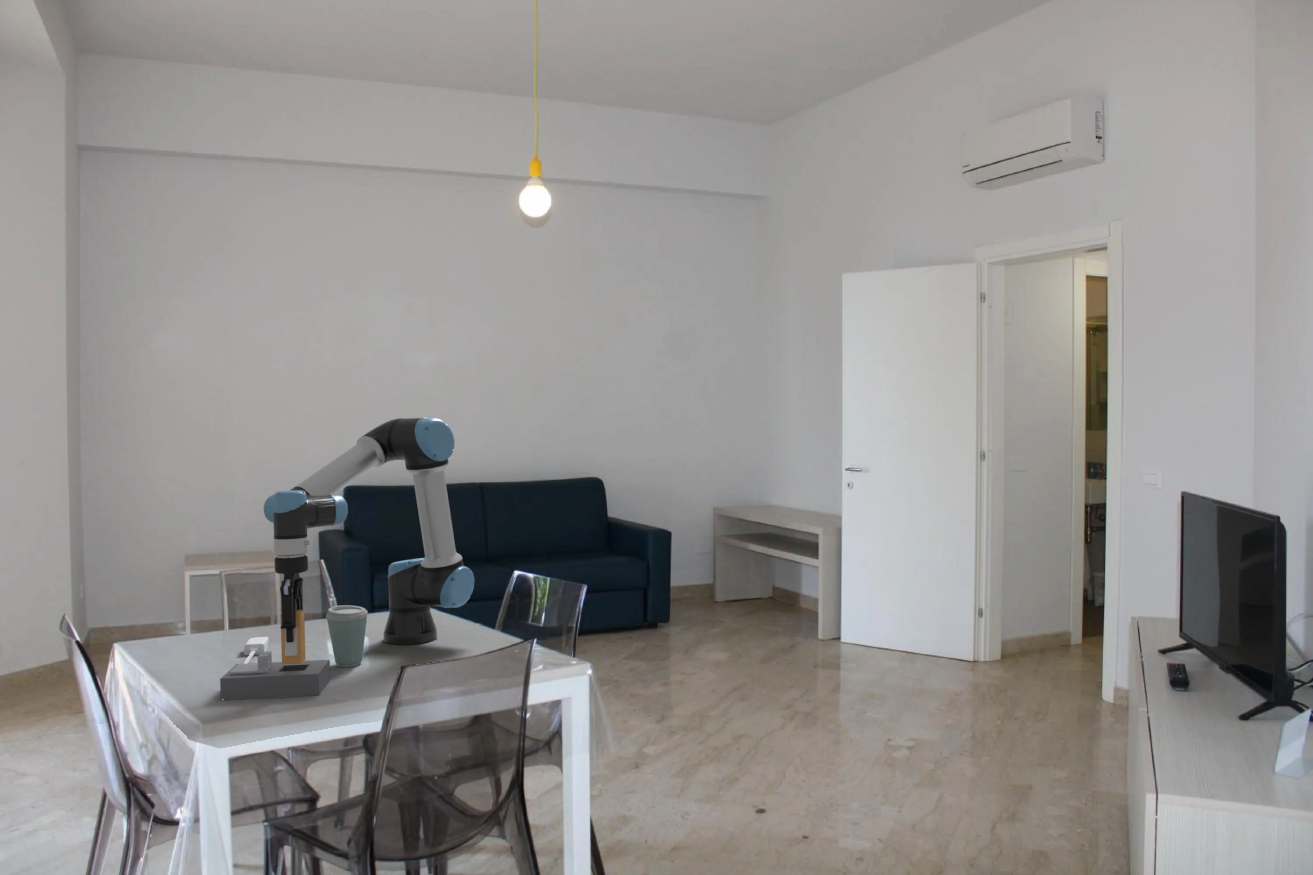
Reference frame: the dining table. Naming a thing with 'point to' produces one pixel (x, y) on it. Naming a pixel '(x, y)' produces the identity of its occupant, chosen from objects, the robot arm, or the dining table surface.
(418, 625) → the robot arm
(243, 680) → the socket box
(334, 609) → the disposable coffee cup
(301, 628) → the plug
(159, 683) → the dining table surface
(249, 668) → the shutter
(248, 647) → the charging cable
